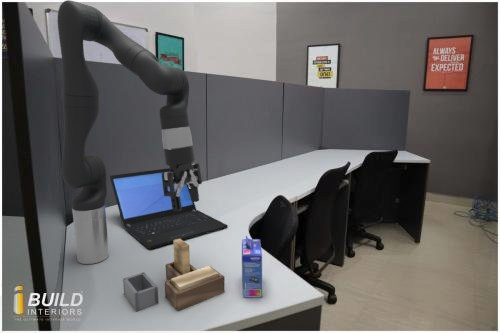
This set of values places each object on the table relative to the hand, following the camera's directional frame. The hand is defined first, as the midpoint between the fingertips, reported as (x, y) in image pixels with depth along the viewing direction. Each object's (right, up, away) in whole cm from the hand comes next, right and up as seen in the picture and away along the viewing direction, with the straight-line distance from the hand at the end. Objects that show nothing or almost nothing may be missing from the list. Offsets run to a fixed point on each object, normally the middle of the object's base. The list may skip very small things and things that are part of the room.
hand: (186, 205), depth 90 cm
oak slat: (-2, -22, +5) cm, 23 cm away
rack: (0, -23, +2) cm, 23 cm away
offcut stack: (+2, -23, -1) cm, 23 cm away
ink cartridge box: (+17, -23, +3) cm, 29 cm away
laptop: (-16, -13, +48) cm, 52 cm away
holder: (-11, -24, -3) cm, 26 cm away
